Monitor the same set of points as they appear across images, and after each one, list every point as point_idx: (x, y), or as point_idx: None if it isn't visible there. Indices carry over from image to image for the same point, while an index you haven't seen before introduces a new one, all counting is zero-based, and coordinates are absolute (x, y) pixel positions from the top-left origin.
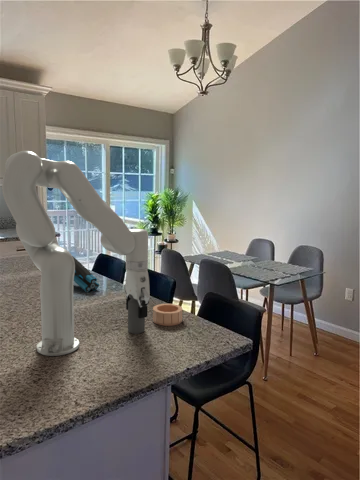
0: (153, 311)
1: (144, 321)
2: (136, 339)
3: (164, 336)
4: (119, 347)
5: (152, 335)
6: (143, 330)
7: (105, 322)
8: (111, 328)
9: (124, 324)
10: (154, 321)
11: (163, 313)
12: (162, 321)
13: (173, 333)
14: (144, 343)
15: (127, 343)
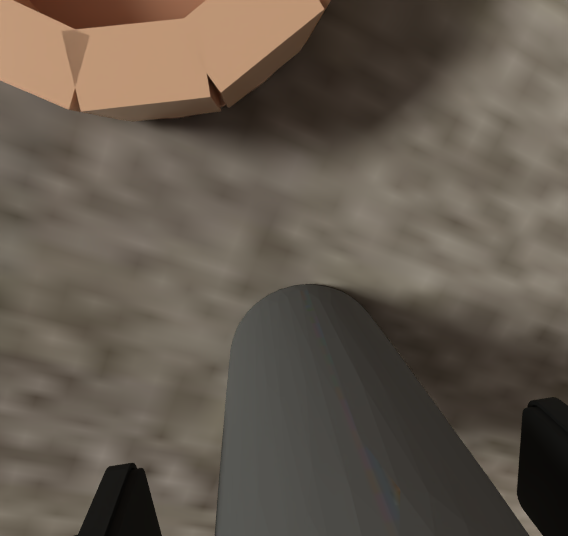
0: (106, 112)
1: (378, 335)
2: (471, 395)
3: (540, 163)
4: (526, 516)
5: (465, 257)
6: (367, 312)
7: (29, 532)
8: (183, 511)
9: (123, 407)
10: (172, 117)
11: (320, 8)
12: (295, 53)
13: (527, 41)
14: (565, 363)
15: (499, 464)
